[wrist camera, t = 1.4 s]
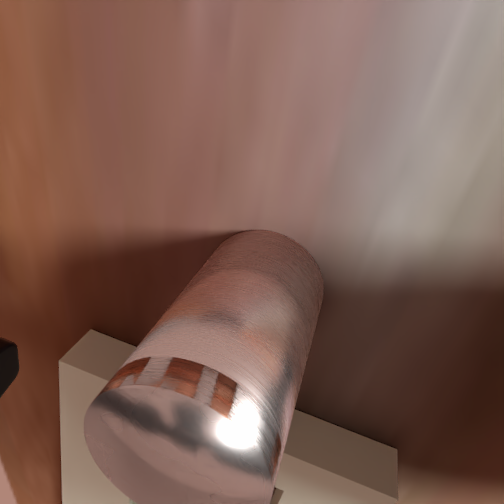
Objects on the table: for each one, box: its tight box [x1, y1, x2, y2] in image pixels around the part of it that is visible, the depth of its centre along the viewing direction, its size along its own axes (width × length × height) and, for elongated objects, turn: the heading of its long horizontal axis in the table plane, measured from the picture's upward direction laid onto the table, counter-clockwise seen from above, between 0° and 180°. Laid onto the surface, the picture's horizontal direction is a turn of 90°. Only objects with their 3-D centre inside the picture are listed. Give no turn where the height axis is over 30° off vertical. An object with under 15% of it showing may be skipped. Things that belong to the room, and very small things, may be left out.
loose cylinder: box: [84, 230, 324, 504], centre depth 11 cm, size 4×4×7 cm
